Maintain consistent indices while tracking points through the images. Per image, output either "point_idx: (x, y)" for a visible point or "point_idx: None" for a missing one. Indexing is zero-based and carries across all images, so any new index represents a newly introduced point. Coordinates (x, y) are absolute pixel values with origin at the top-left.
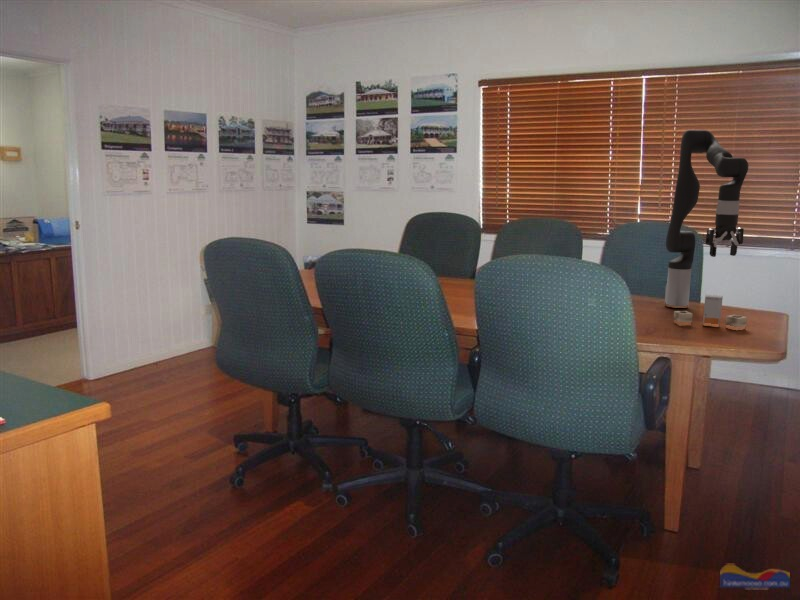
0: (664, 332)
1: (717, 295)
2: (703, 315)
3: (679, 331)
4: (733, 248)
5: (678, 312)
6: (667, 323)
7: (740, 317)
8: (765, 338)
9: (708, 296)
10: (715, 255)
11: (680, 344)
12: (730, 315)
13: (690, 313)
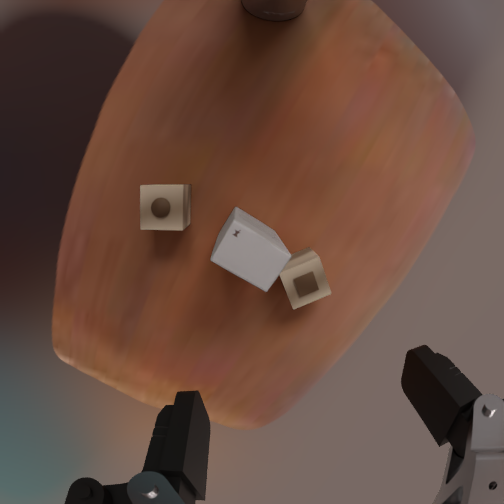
0: (97, 283)
1: (272, 248)
2: (216, 240)
3: (133, 278)
4: (433, 418)
5: (145, 207)
6: (136, 185)
7: (309, 296)
8: (310, 356)
9: (222, 263)
10: (206, 433)
11: (108, 372)
12: (296, 267)
13: (177, 225)
